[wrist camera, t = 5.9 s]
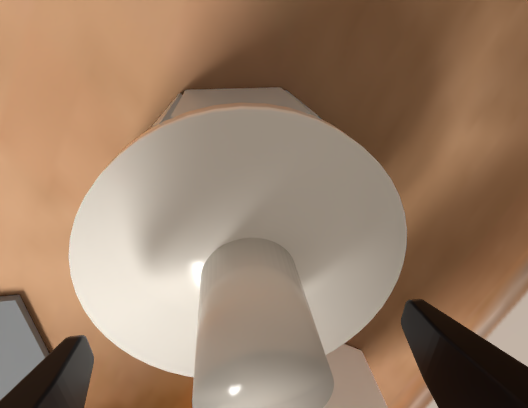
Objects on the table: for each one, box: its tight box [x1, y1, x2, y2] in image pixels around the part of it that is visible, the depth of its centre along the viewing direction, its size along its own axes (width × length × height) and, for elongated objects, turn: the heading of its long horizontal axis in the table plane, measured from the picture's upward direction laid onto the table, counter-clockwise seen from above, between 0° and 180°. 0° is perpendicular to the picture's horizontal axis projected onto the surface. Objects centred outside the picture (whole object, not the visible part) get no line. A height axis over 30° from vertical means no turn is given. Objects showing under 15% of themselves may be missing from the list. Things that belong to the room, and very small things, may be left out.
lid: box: [69, 103, 407, 408], centre depth 9 cm, size 11×11×5 cm
